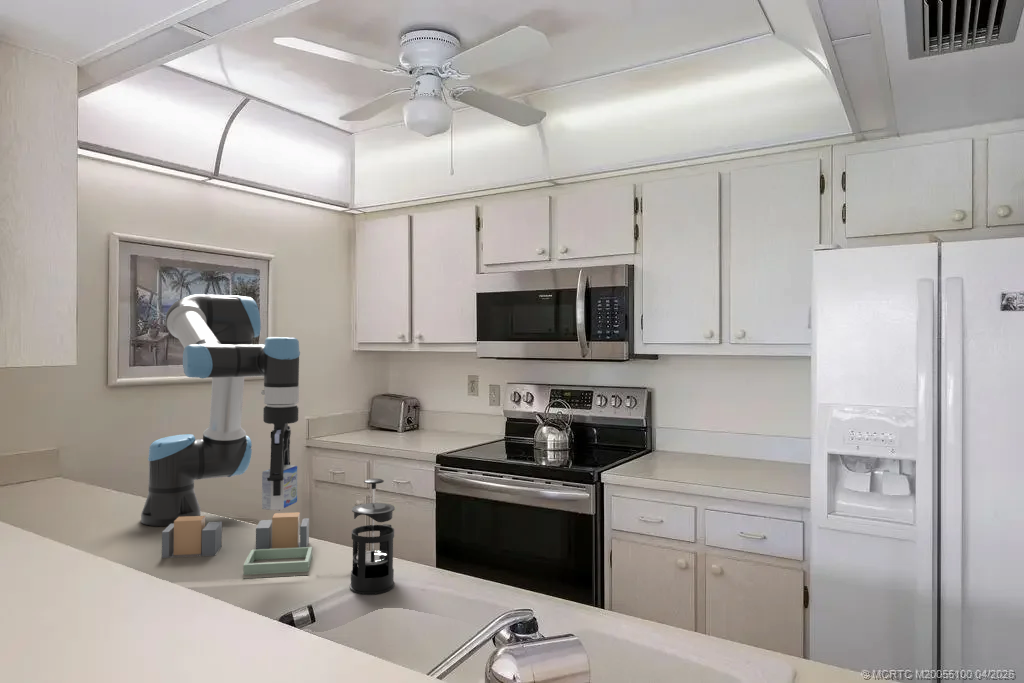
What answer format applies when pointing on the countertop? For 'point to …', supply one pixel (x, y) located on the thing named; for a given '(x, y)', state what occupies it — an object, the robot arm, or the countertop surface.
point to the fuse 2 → (285, 530)
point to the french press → (375, 565)
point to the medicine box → (289, 487)
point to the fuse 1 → (188, 535)
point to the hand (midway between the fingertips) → (279, 504)
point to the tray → (277, 566)
